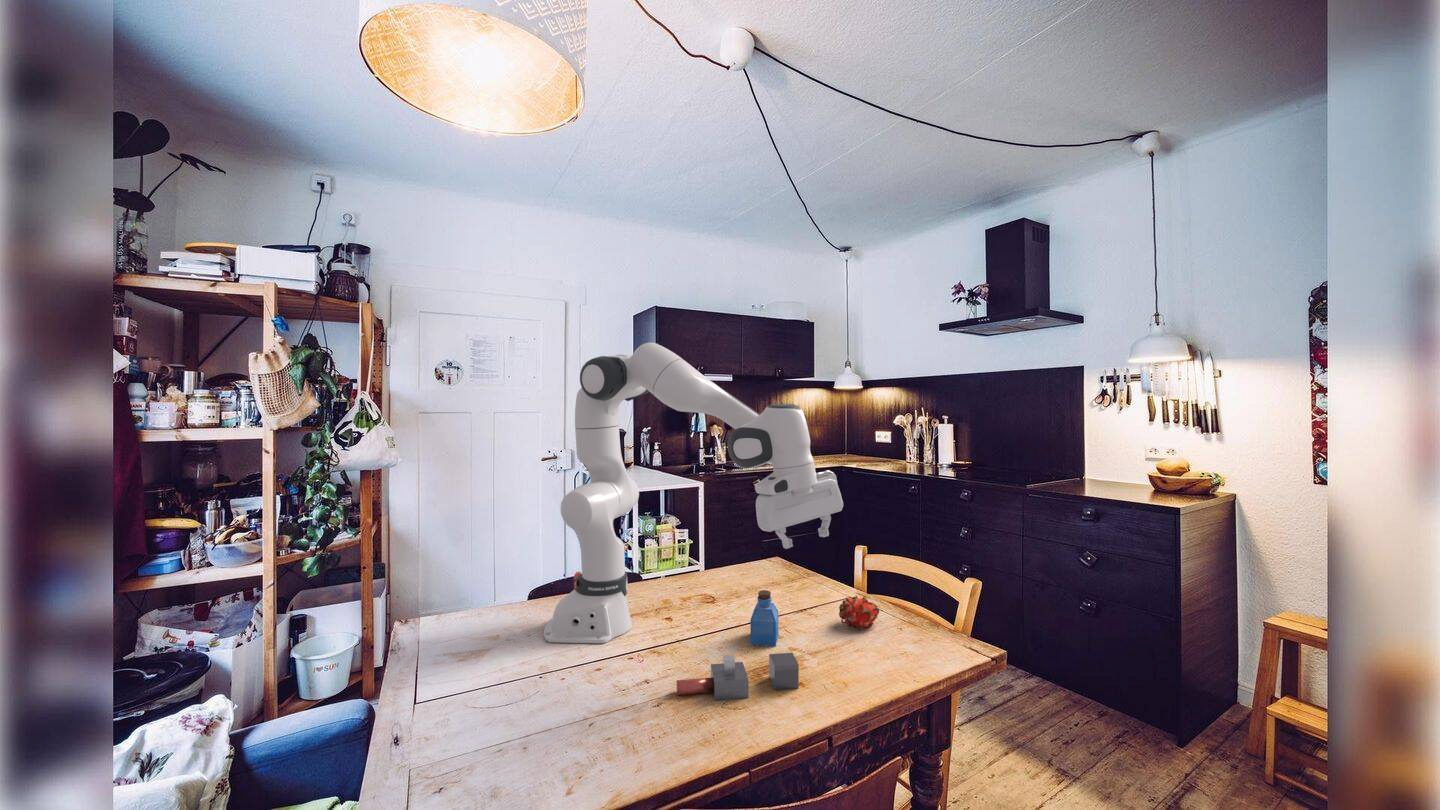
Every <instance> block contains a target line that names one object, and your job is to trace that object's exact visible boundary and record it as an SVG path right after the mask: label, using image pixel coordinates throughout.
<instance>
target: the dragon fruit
mask: <svg viewBox="0 0 1440 810" xmlns="http://www.w3.org/2000/svg"><path fill="white" fill-rule="evenodd" d="M841 602H842V603H840V605H839V609H838V610H839V612H838V616H839V618H840V619H841V621H840V622H841V623H842V624H843V625H848V626H849V628H853V627H856V628H857V629H859V630H860V631H861V630H863V629H864V627H866V628H871V627H872V626H873V625H874V621H876V619H877V618H878V615H879V614H880V608H878V606H877V605H876V603H874V602H873V601H872V602H871V601H869V600H868V599H867V596H862V598H859V596H857V595H856V596H853V597H852V598H850V597H845V599H843V600H842V601H841Z"/></svg>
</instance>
